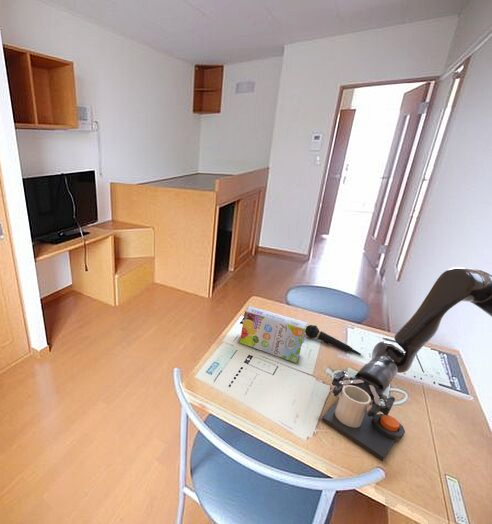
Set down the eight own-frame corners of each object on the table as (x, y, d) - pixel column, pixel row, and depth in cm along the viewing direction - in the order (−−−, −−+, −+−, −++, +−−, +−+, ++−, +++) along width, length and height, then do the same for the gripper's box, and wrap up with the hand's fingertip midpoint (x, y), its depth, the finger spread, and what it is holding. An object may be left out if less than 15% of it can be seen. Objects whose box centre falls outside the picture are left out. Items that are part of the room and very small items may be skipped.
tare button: (399, 426, 84) (401, 422, 83) (394, 434, 81) (396, 429, 81) (382, 416, 87) (384, 412, 86) (377, 424, 84) (379, 419, 84)
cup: (365, 419, 87) (374, 396, 84) (355, 431, 84) (365, 407, 80) (340, 404, 92) (348, 381, 89) (330, 415, 88) (338, 392, 85)
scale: (404, 434, 84) (408, 426, 83) (387, 464, 77) (390, 456, 76) (342, 397, 96) (344, 390, 95) (321, 420, 88) (324, 412, 87)
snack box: (299, 355, 115) (308, 321, 109) (296, 364, 110) (305, 329, 104) (243, 336, 126) (248, 304, 120) (238, 343, 121) (244, 310, 115)
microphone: (357, 359, 117) (303, 333, 129) (364, 346, 116) (309, 321, 127) (356, 363, 113) (301, 335, 124) (364, 349, 112) (307, 323, 123)
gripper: (351, 355, 97) (328, 377, 88) (406, 382, 86) (387, 410, 77) (345, 374, 100) (322, 397, 91) (398, 402, 89) (378, 431, 80)
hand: (351, 403), depth 84 cm, fingers open, 8 cm apart
